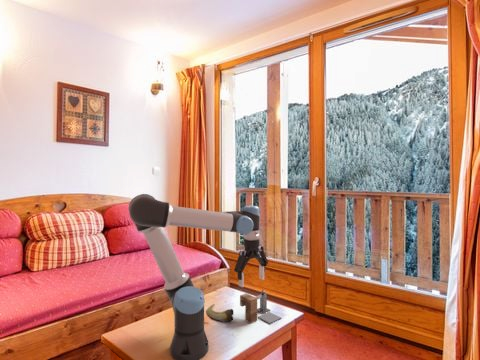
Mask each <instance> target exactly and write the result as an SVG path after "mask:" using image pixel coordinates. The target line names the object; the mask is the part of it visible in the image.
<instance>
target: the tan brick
mask: <svg viewBox="0 0 480 360" xmlns="http://www.w3.org/2000/svg"><path fill="white" fill-rule="evenodd" d="M242 301H245V305H242V306H241V305H240V304H239V305H240V307H244V306H245V307H244V308H245V309H244V311H245V314H244V315H245V316H244V317H245V318H244V319H245V321H247V322H249V323H250V324H253V323H255V322H257V321H258V311H257V309H258V299H257V298H256V297H255V296H253V295H251V294H248V293H243V294H240V296H239V303H240V302H242Z"/></svg>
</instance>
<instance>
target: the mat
mask: <svg viewBox="0 0 480 360" xmlns="http://www.w3.org/2000/svg"><path fill="white" fill-rule="evenodd" d="M257 319H259V320H261V321H263V322H265V323H267V324H268V325H271V324H273V322H274V323H276V322H277V320H278V321H279V319H280V320H281V319H282V316H279V315H277V314H275V313H273V312H271V311H269V312H267V313H264V314H263V313H262V314H261V315H258V316H257ZM275 321H276V322H275Z"/></svg>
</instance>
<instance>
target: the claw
mask: <svg viewBox="0 0 480 360" xmlns="http://www.w3.org/2000/svg"><path fill="white" fill-rule="evenodd" d="M214 306H215V303H213V304H212V305H210V306H209V307H208V308H207V309H206V314H207V316H208V317H210V318H211V319H214V320H218V321H220V322H234V316H233V315H234V309H233V308H229V309H225V310H224V311H215V310H214V309H213V308H214Z"/></svg>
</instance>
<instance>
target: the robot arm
mask: <svg viewBox="0 0 480 360" xmlns="http://www.w3.org/2000/svg"><path fill="white" fill-rule="evenodd" d="M242 209H243V210H237V211H235V210H232V211H226V210H225V211H222V212H221V211H213V210H206V209H198V208H193V207H192V208H190V207H184V206H176V205H171V203H170V202H167V201H161V200H158V199H156V198H155V197H154V196H153V195H152V194H151V195H150V194H148V193H142V194H138V195H136V196H134V197H133V198H132V199H131V201H130V202H129V203H128V214H129V217H130V219H131V220H132V222H133V223H134V225H135V228H136V230H137V231H138V232H139V233H142V234H143V236H144V239H145V240H146V242H147V245H148V247H149V249H150V251H151V253H152V255H153V257H154V260H155V262H156V265H157V266H158V269H159V271H160V273H161V275H162V277H163V280H164V282H165V283H164V284H163V285H164V286H163V288H164V290H165V293H166V295H167V297H168V299H169V302H170V304H171V307H172V310H173V315H174V316H173V317H174V333H173V336H172V339H171V342H170V345H169V346H170V347H169V355H170V356H171V357H172V358H173V359H174V360H201V359H202V358H203V357H205V356H206V355H207V354H208V352H209V339H208V336H207V334H206V331H205V302H206V301H205V299H206V298H205V295H204V292H203V290H201V289H200V288H199V287H196V286H195V285H194V283H193V281H192V279H191V277H190V274H189V273H187V272H185V271H184V270H183V266H182V265H181V261H180V260H179V258H178V256H177V253H176V252H175V249H174V246H173V244H172V242H171V240H170V237H169V235H168V233H167V230H166V229H165V228H166V227H168V226H174V227H180V228H182V227H183V228H192V229H201V230H202V229H203V230H212V231H222V232H230V233H237V234H240V235H243V247H244V250H241V249H240V250H239V251H238V253H239V254H238V257H237V260H236V263H235V267H234V269H233V271H234V272H235V273H236V274H237V279H238V287H240V288H244V287H245V285H244V283H245V279H244V278H245V277H244V276H245V274H244V273H245V272H244V269H245V268H246V266H247V264H248V262H249V261H250V260H251V259H256V260H257V262H258V264H259V266H258V269H259V270H258V275H259V277H258V278H259V279H260V280H262V281H264V280H265V272H266V267H267V265H268V264H269V261H268V259H267V256H266V254H265V251H264V246H261V244H260V216H261V214H260V208H259V207H258V206H257V205H245V206H244V207H243V208H242Z"/></svg>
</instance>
